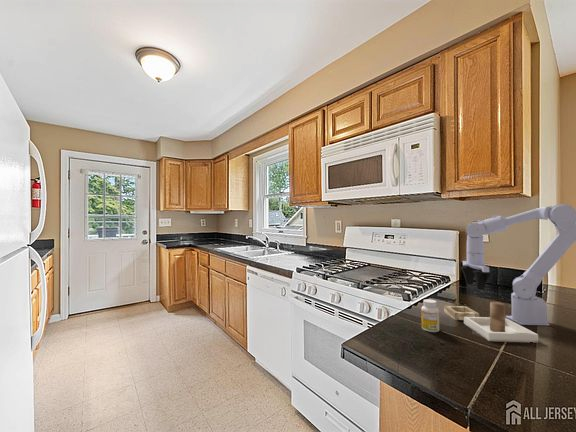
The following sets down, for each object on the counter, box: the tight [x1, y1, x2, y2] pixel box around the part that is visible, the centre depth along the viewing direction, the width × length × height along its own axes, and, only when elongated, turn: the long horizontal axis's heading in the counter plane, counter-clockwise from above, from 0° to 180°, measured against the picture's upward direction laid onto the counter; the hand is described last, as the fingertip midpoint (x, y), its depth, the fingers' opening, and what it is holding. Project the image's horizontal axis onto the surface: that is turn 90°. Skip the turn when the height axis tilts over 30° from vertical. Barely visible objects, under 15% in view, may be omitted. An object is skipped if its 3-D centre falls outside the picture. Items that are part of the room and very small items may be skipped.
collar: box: [443, 305, 480, 321], centre depth 105 cm, size 8×8×2 cm
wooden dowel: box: [489, 301, 506, 332], centre depth 90 cm, size 4×4×9 cm
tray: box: [463, 316, 539, 344], centre depth 90 cm, size 14×14×2 cm
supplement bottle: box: [420, 298, 440, 333], centre depth 93 cm, size 5×5×10 cm
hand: (474, 286), depth 109 cm, fingers open, 7 cm apart
